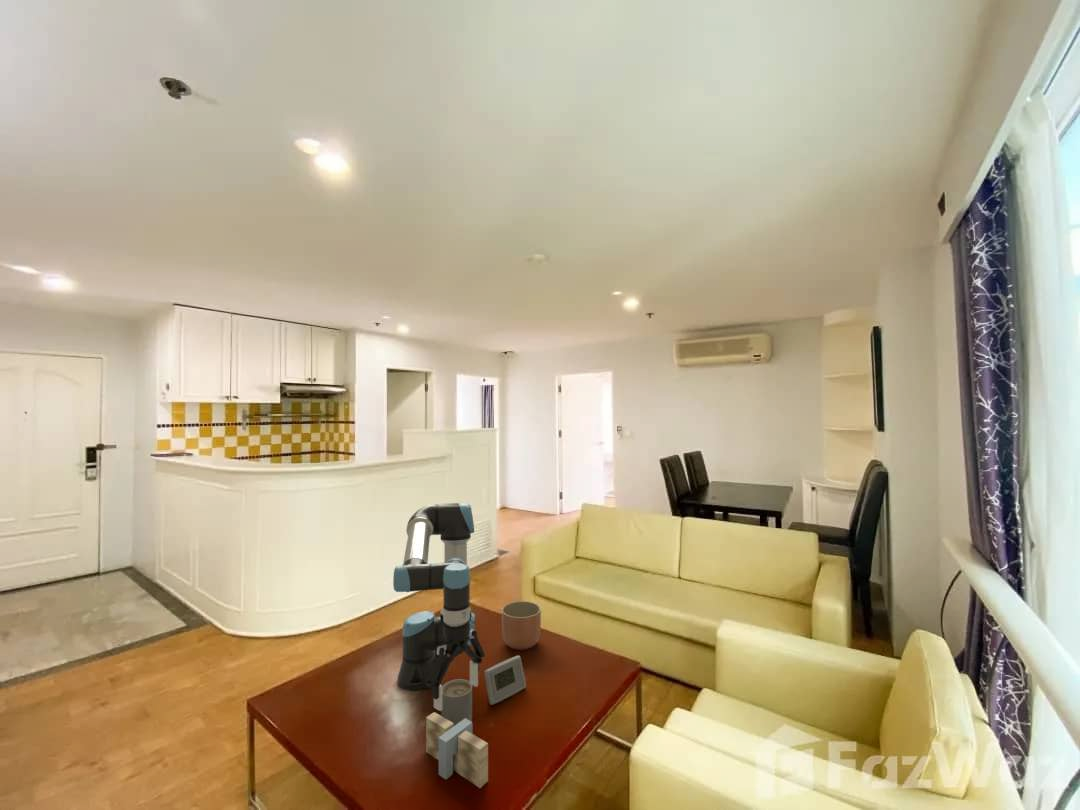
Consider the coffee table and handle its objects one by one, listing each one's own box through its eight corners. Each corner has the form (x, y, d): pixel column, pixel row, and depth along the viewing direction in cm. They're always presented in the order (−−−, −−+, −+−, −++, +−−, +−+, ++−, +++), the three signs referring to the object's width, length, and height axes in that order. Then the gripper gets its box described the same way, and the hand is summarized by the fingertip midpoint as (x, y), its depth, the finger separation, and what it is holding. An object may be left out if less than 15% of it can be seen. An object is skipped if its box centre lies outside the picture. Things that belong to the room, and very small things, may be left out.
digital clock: (489, 708, 152) (489, 676, 153) (478, 694, 160) (478, 663, 160) (531, 693, 161) (530, 663, 161) (519, 680, 168) (519, 651, 169)
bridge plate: (438, 774, 124) (438, 737, 124) (465, 752, 132) (465, 718, 132) (446, 779, 122) (446, 742, 122) (472, 757, 130) (472, 722, 131)
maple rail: (426, 751, 132) (426, 717, 133) (434, 745, 135) (434, 711, 135) (480, 788, 119) (480, 749, 120) (488, 780, 122) (487, 743, 122)
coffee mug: (474, 725, 144) (474, 693, 144) (442, 732, 141) (442, 699, 141) (468, 700, 157) (468, 671, 157) (439, 706, 154) (439, 676, 154)
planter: (540, 654, 187) (540, 617, 187) (499, 654, 187) (499, 617, 187) (541, 635, 204) (541, 600, 204) (503, 634, 204) (503, 600, 204)
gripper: (430, 642, 117) (430, 725, 116) (495, 609, 137) (496, 680, 136) (412, 634, 121) (412, 714, 121) (478, 603, 141) (478, 671, 141)
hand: (456, 696), depth 128 cm, fingers open, 13 cm apart
